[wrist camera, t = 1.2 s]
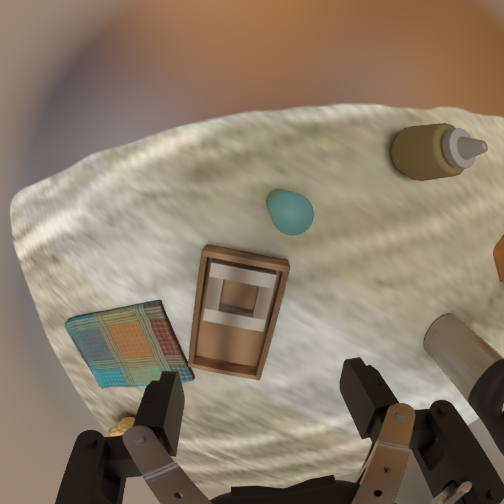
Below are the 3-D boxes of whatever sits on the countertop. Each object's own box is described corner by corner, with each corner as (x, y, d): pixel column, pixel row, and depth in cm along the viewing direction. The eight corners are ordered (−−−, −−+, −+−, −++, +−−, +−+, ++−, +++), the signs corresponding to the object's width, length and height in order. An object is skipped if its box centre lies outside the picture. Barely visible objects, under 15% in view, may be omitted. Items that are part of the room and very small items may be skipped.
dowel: (293, 192, 37) (317, 198, 22) (288, 216, 38) (308, 239, 23) (269, 187, 37) (276, 189, 22) (264, 211, 38) (267, 230, 23)
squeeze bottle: (379, 130, 35) (451, 104, 17) (420, 130, 34) (497, 112, 17) (388, 182, 36) (465, 187, 19) (428, 179, 36) (507, 184, 19)
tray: (287, 260, 40) (290, 266, 37) (259, 368, 45) (259, 380, 42) (206, 244, 40) (202, 249, 36) (192, 355, 44) (188, 366, 41)
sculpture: (146, 408, 49) (131, 443, 38) (173, 440, 52) (162, 473, 41) (110, 410, 50) (93, 440, 40) (137, 440, 53) (124, 470, 42)
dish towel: (67, 316, 45) (60, 321, 42) (161, 296, 42) (156, 302, 40) (103, 383, 48) (99, 390, 46) (197, 377, 46) (194, 385, 44)
